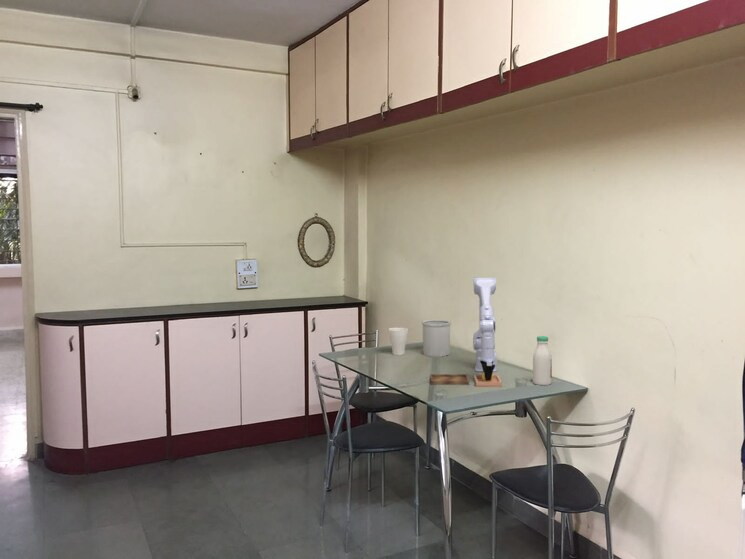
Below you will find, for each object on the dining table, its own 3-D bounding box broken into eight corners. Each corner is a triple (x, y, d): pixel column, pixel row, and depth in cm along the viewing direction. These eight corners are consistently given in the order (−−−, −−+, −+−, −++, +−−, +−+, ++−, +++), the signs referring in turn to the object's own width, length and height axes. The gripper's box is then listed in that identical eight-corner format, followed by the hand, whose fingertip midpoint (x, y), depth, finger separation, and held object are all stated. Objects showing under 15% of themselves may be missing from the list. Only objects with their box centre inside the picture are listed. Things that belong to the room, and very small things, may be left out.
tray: (466, 377, 274) (466, 374, 274) (469, 384, 262) (469, 381, 262) (430, 377, 275) (430, 374, 275) (431, 384, 263) (431, 381, 263)
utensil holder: (448, 357, 315) (448, 323, 314) (419, 356, 320) (419, 323, 318) (452, 352, 330) (452, 319, 328) (425, 350, 334) (425, 318, 332)
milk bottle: (548, 386, 257) (549, 339, 256) (530, 384, 262) (530, 337, 260) (553, 382, 264) (554, 336, 262) (535, 380, 268) (536, 334, 266)
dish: (497, 379, 270) (497, 374, 270) (501, 386, 258) (501, 382, 258) (473, 379, 271) (473, 374, 271) (476, 386, 259) (476, 381, 259)
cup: (389, 352, 332) (389, 327, 331) (409, 352, 331) (409, 327, 329) (387, 356, 322) (387, 330, 320) (407, 356, 320) (407, 330, 319)
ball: (492, 380, 267) (492, 369, 266) (493, 383, 262) (493, 371, 261) (481, 380, 267) (481, 369, 267) (482, 382, 262) (482, 371, 262)
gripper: (476, 344, 271) (476, 374, 272) (479, 350, 256) (479, 383, 257) (492, 344, 270) (492, 374, 271) (496, 350, 256) (496, 383, 257)
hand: (487, 378), depth 264 cm, fingers closed on ball, 5 cm apart
